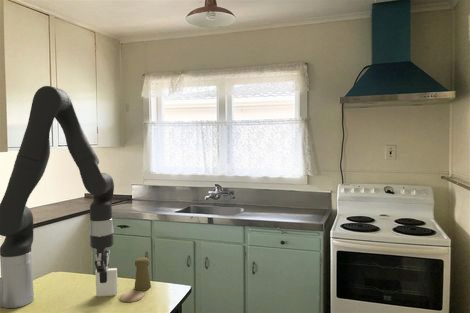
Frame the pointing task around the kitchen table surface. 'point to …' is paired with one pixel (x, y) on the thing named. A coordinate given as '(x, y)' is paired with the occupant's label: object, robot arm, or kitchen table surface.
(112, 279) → the tile
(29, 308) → the kitchen table surface
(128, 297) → the disc
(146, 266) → the pepper shaker
